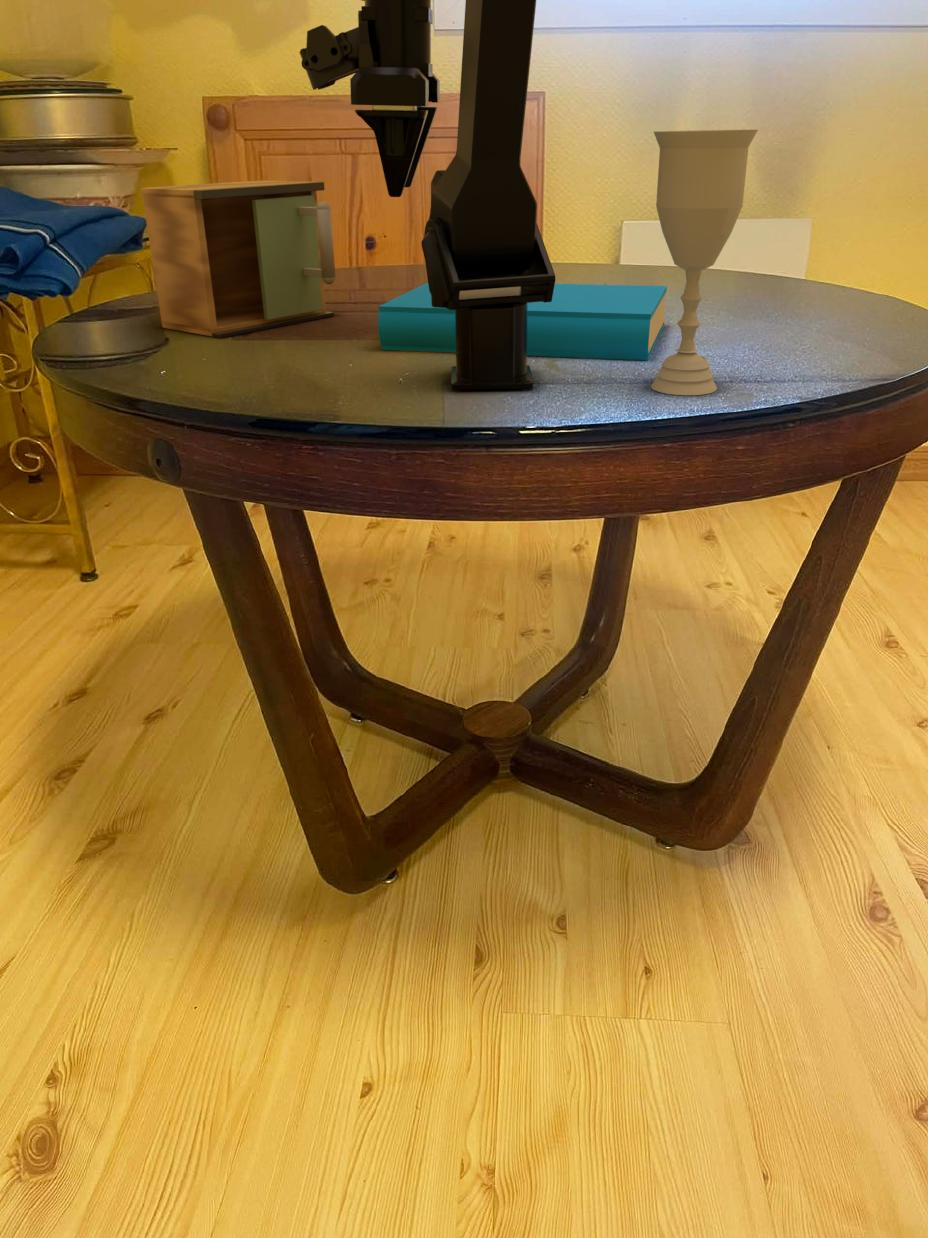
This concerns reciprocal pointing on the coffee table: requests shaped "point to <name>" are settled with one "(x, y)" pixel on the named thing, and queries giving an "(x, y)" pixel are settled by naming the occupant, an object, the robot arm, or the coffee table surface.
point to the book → (542, 322)
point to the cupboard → (214, 255)
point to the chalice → (697, 230)
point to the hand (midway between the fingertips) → (400, 191)
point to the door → (293, 253)
